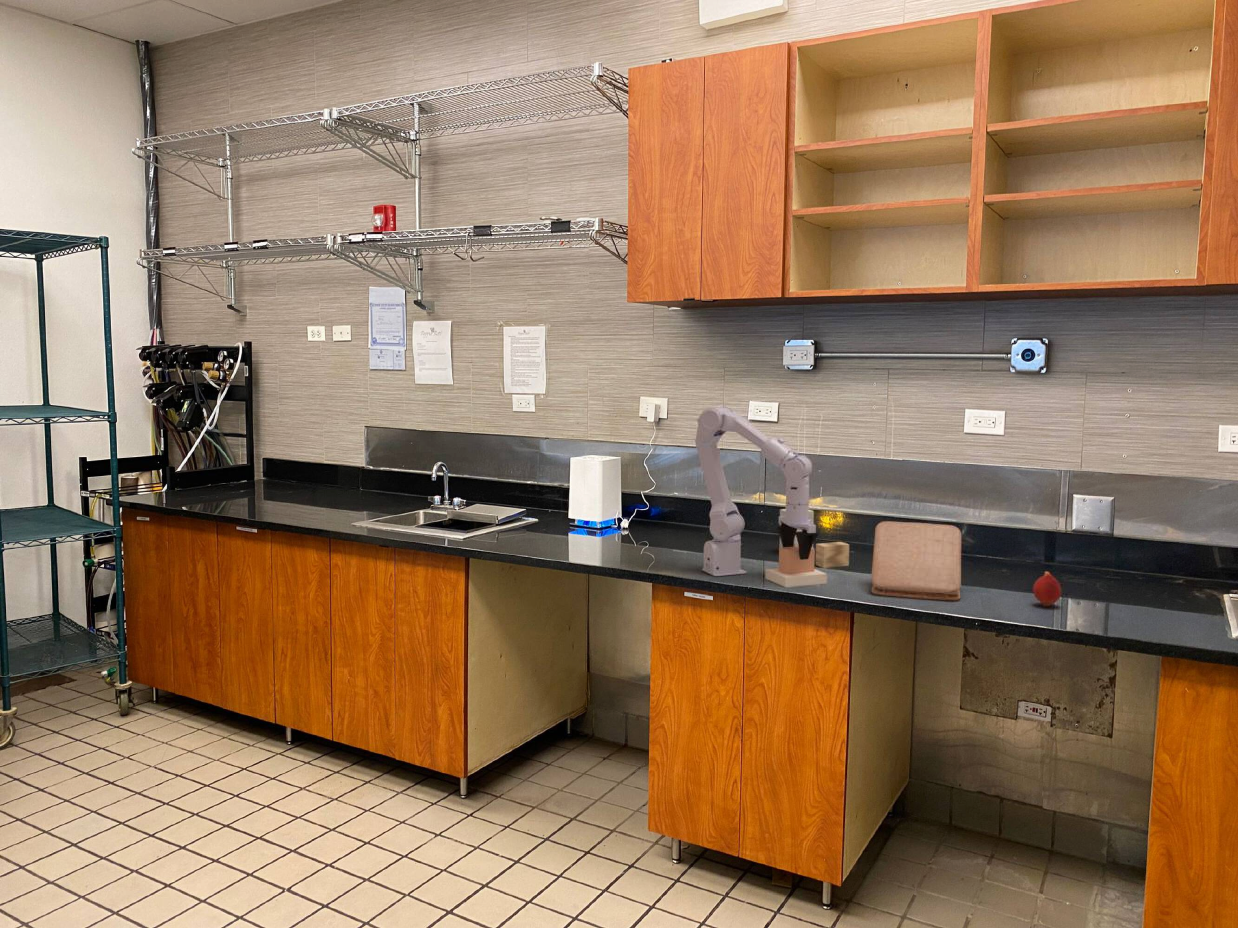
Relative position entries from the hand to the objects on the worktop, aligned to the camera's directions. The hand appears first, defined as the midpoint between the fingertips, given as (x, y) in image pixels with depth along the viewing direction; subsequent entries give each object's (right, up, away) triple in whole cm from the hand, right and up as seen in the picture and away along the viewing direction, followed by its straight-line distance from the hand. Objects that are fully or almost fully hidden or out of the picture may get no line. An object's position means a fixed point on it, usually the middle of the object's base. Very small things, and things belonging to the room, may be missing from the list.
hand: (796, 556), depth 228 cm
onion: (+52, -9, -24) cm, 58 cm away
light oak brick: (+14, -5, +18) cm, 23 cm away
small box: (+7, -3, +34) cm, 35 cm away
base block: (0, -7, +1) cm, 7 cm away
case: (+28, -8, -8) cm, 30 cm away
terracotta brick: (0, -4, +1) cm, 4 cm away
